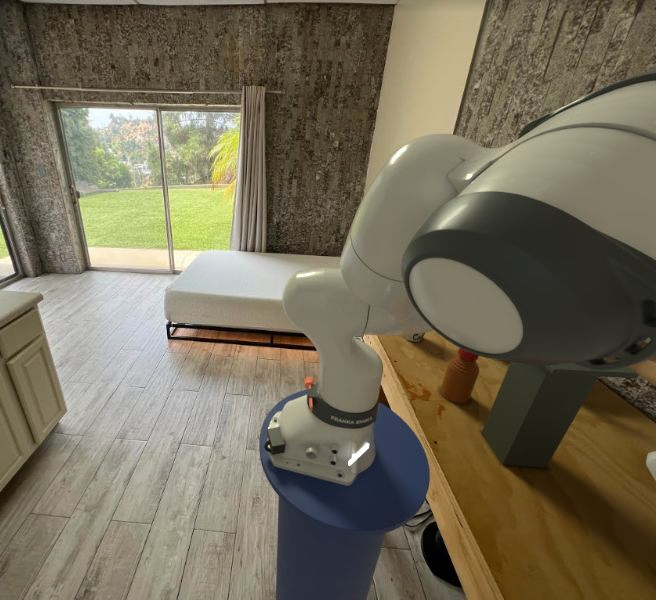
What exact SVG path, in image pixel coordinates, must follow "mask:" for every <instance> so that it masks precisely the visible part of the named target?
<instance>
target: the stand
mask: <svg viewBox="0 0 656 600" xmlns="http://www.w3.org/2000/svg"><path fill="white" fill-rule="evenodd" d="M602 359H604V358H602ZM604 360H606V359H604ZM606 361H607V360H606ZM599 377H600V378H601V377H603V378H619V379H638V377H639V375H638V374H637V373H635V372H634V371H632V370H631V369H629V368H627V367H623V368H618V369H610V370H595V369H589V368H586V367H582V366H579V365H577V364H574V363H566V364H559V365H547V366H544V365H530V364H523V363H517V362H509V364H508V367H507V370H506V373H505V375H504V377H503V380H502V382H501V384H500V387H499V390H498V392H497V394H496V396H495V399H494V401H493V404H492V406H491V409H490V411H489V413H488V416H487V418H486V420H485V423H484V425H483V428H482V430H481V434H482V436H483V437H484V438H485V440H486V442H487V443H488V444H489V446H490V448H491V449H492V451H493V452H494V454H495V455H496V457H497V458H498V460H499V461H500V463H501V464H502V465H505V466H515V467H516V466H517V467H529V468H541V469H542V468H543V469H546V468H547V467H548V466H549V463H550V461H551V460H552V458H553V457H554V455H555V453H556V451H557V449H558V448H559V446H560V444H561V443H562V440H563V439H564V437H565V436H566V434H567V432H568V430H569V429H570V427H571V425H572V423H573V422H574V420H575V419H576V417H577V415H578V414H579V412H580V410H581V408H582V406H583V405H584V403H585V401H586V399H587V398H588V396H589V394H590V392H591V391H592V389H593V388H594V385H595V383H596V382H597V380H598V378H599Z"/></svg>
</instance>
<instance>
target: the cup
mask: <svg viewBox="0 0 656 600" xmlns="http://www.w3.org/2000/svg"><path fill="white" fill-rule="evenodd" d="M426 333H427V332H425V333H419V334H413V335H404V336H403V337H404V338H405V339H406V340H407V341H410V342H413V343H416V342H420V341H422V340H423V338H424V336H425V335H426Z"/></svg>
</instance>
